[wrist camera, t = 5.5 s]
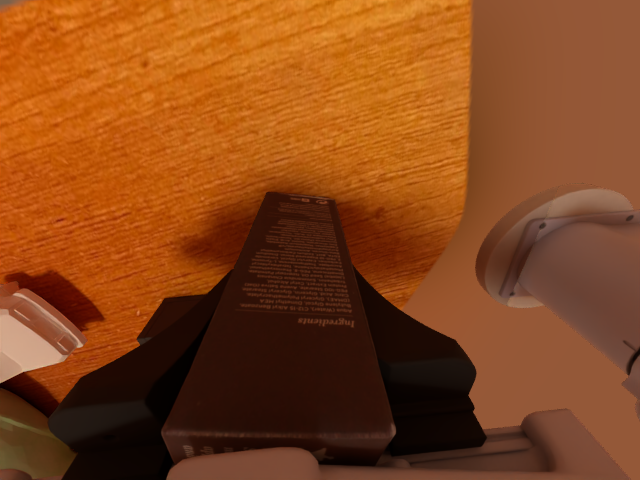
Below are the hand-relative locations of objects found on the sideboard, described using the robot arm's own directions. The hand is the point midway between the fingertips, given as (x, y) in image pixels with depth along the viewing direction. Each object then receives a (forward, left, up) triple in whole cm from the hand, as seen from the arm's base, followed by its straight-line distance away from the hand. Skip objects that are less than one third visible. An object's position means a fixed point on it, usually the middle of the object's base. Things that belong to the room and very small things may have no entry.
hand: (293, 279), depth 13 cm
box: (0, 0, -4) cm, 4 cm away
